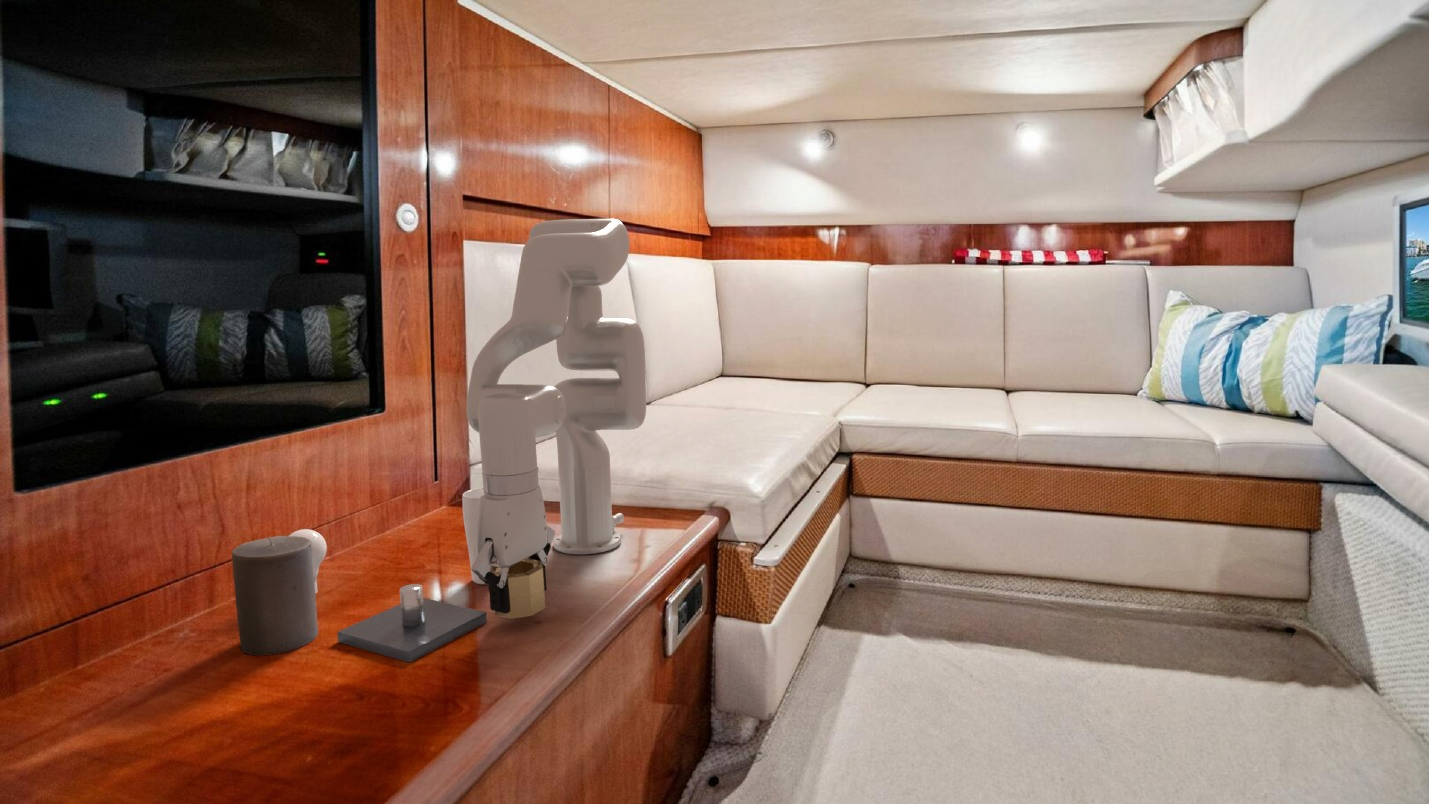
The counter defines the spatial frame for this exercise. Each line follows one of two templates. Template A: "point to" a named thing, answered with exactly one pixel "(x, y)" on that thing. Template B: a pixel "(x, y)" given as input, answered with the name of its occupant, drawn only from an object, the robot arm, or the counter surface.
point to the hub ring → (524, 588)
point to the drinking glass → (472, 525)
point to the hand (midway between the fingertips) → (519, 599)
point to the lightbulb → (314, 549)
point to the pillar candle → (275, 594)
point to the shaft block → (412, 626)
